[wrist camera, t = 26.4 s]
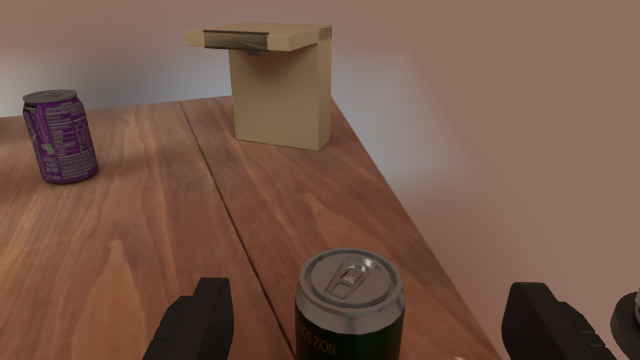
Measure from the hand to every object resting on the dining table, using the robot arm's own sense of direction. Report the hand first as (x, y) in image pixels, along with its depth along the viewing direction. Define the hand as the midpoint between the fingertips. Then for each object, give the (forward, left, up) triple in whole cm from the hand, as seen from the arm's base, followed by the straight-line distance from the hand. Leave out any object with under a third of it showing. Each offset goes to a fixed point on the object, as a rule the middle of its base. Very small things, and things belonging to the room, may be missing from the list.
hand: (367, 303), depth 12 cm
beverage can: (+38, -45, -17) cm, 61 cm away
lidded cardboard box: (+10, -59, -17) cm, 62 cm away
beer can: (0, -7, -17) cm, 18 cm away
